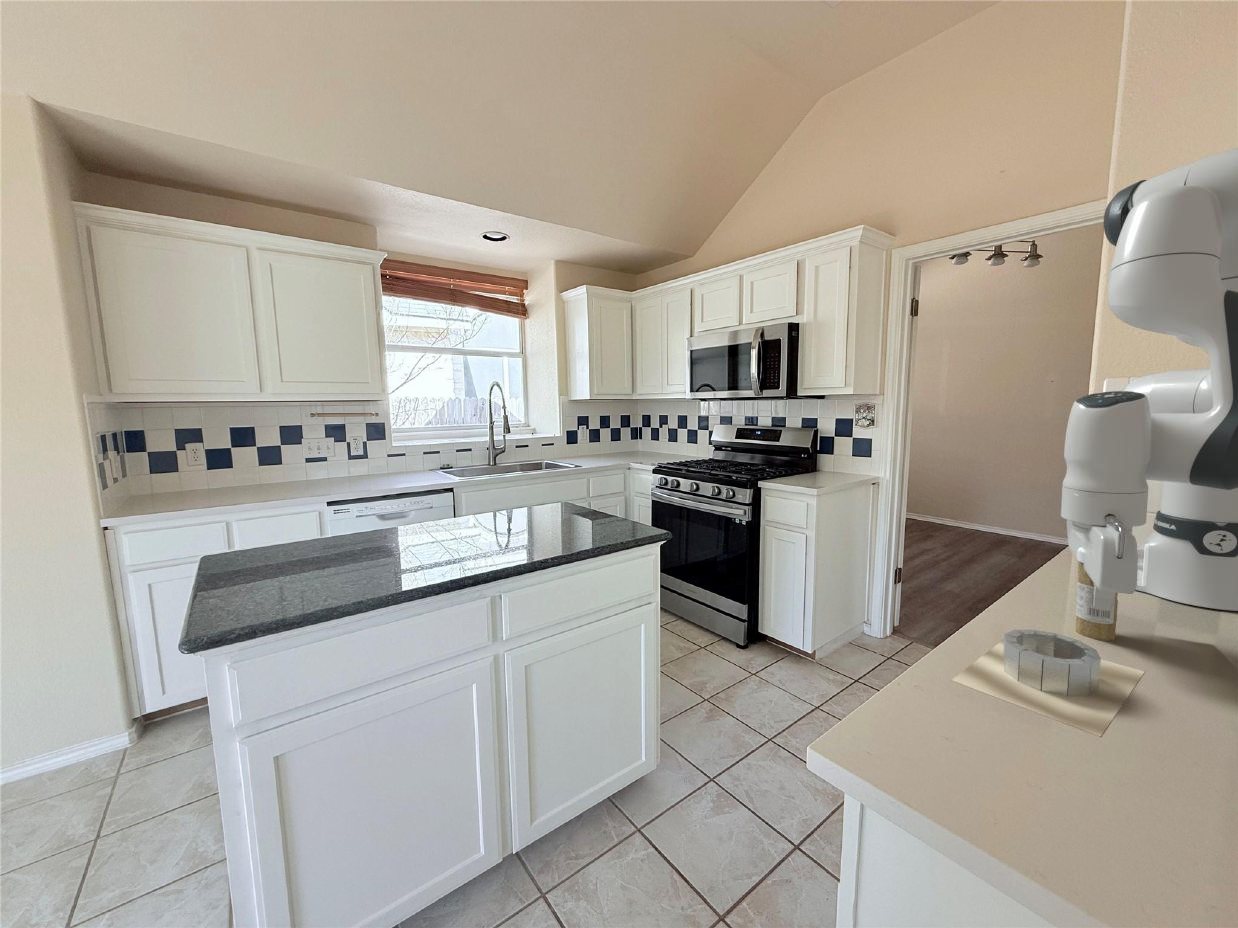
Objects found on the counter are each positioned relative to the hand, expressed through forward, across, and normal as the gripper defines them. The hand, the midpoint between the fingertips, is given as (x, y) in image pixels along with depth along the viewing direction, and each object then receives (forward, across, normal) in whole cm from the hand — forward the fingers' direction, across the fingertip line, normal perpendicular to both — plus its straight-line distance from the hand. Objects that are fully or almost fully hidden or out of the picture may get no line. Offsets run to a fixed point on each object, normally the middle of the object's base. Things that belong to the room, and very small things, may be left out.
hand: (1096, 601), depth 74 cm
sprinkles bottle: (+6, 0, 0) cm, 6 cm away
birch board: (+6, -17, +8) cm, 20 cm away
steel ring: (+5, -17, +8) cm, 19 cm away
